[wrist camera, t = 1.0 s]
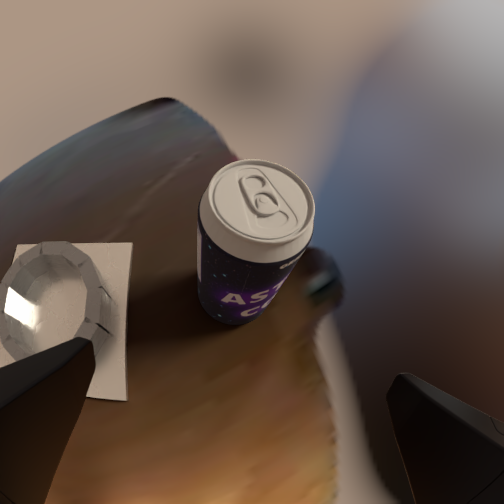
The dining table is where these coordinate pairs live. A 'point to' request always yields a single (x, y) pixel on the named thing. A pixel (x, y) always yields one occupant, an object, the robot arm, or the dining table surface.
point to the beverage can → (250, 237)
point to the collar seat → (70, 306)
